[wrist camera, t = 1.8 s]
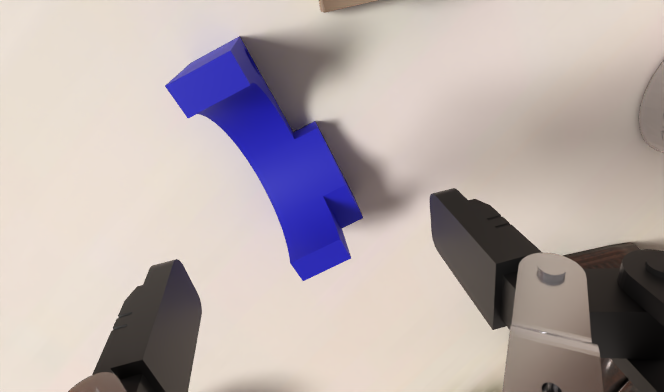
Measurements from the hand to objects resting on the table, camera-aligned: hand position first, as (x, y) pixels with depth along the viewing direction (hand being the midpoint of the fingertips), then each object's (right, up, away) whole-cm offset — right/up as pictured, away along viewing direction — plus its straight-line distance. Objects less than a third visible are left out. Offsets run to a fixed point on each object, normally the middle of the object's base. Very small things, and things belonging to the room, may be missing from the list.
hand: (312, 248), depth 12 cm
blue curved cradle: (-2, +5, +11) cm, 13 cm away
